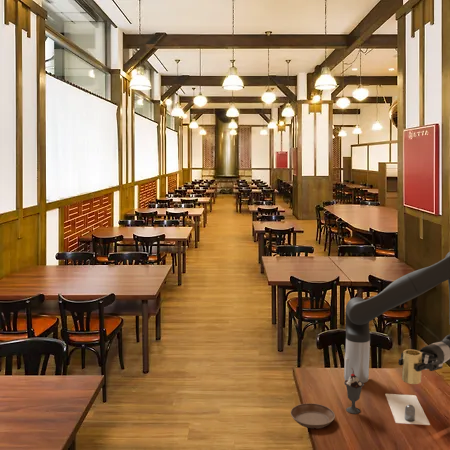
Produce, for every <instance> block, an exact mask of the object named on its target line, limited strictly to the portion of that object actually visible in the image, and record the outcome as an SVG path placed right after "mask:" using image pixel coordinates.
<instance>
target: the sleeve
mask: <svg viewBox="0 0 450 450" xmlns="http://www.w3.org/2000/svg"><path fill="white" fill-rule="evenodd" d="M402 353H403V365H402V373H401V374H402V375H401V380H402V381H403V382H404V383H406V384H411V385H418V384H421V383H422V371H419V372H417V371H416V365H417V364H420V363H422V353H421V352H420V350H417V349H410V348H409V349H405V350H403V351H402Z"/></svg>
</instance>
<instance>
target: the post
mask: <svg viewBox="0 0 450 450" xmlns="http://www.w3.org/2000/svg"><path fill="white" fill-rule="evenodd" d="M405 420H406V421H409V422H413V421H415V408H414V406H413V405H407V406H406V407H405Z"/></svg>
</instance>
